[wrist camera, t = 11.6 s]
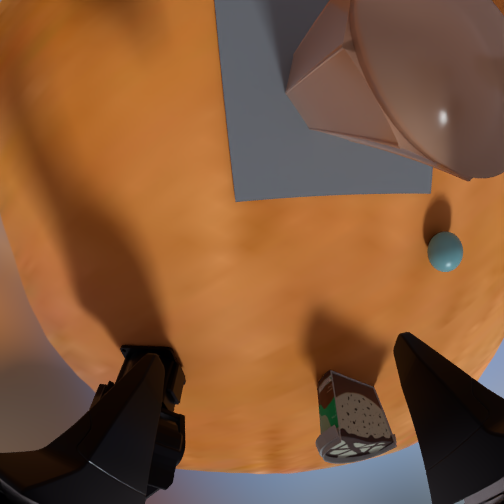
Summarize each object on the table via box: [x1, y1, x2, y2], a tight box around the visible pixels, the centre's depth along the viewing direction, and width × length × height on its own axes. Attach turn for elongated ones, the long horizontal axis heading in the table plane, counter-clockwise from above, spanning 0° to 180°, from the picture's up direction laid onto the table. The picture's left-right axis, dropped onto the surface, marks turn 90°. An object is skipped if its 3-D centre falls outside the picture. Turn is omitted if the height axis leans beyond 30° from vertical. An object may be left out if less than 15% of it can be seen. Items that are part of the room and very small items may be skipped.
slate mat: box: [215, 0, 433, 202], centre depth 15 cm, size 16×16×1 cm
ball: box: [428, 232, 463, 272], centre depth 20 cm, size 4×4×4 cm
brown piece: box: [285, 0, 504, 181], centre depth 9 cm, size 7×7×13 cm
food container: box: [316, 370, 397, 464], centre depth 27 cm, size 12×6×10 cm, turn 55°
